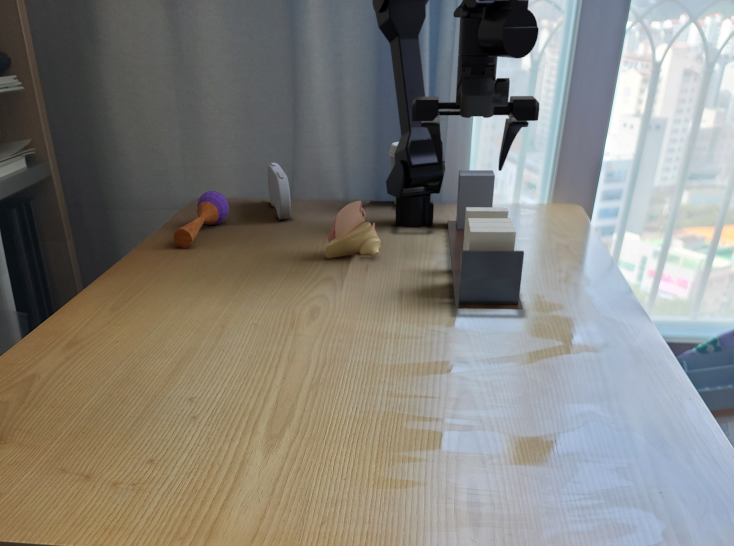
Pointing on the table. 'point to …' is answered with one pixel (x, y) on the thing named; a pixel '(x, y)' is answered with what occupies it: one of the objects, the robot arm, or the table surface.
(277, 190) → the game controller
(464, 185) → the grey books
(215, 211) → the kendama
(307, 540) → the table surface
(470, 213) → the ivory book
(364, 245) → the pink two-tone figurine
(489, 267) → the book rack
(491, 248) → the cream books
